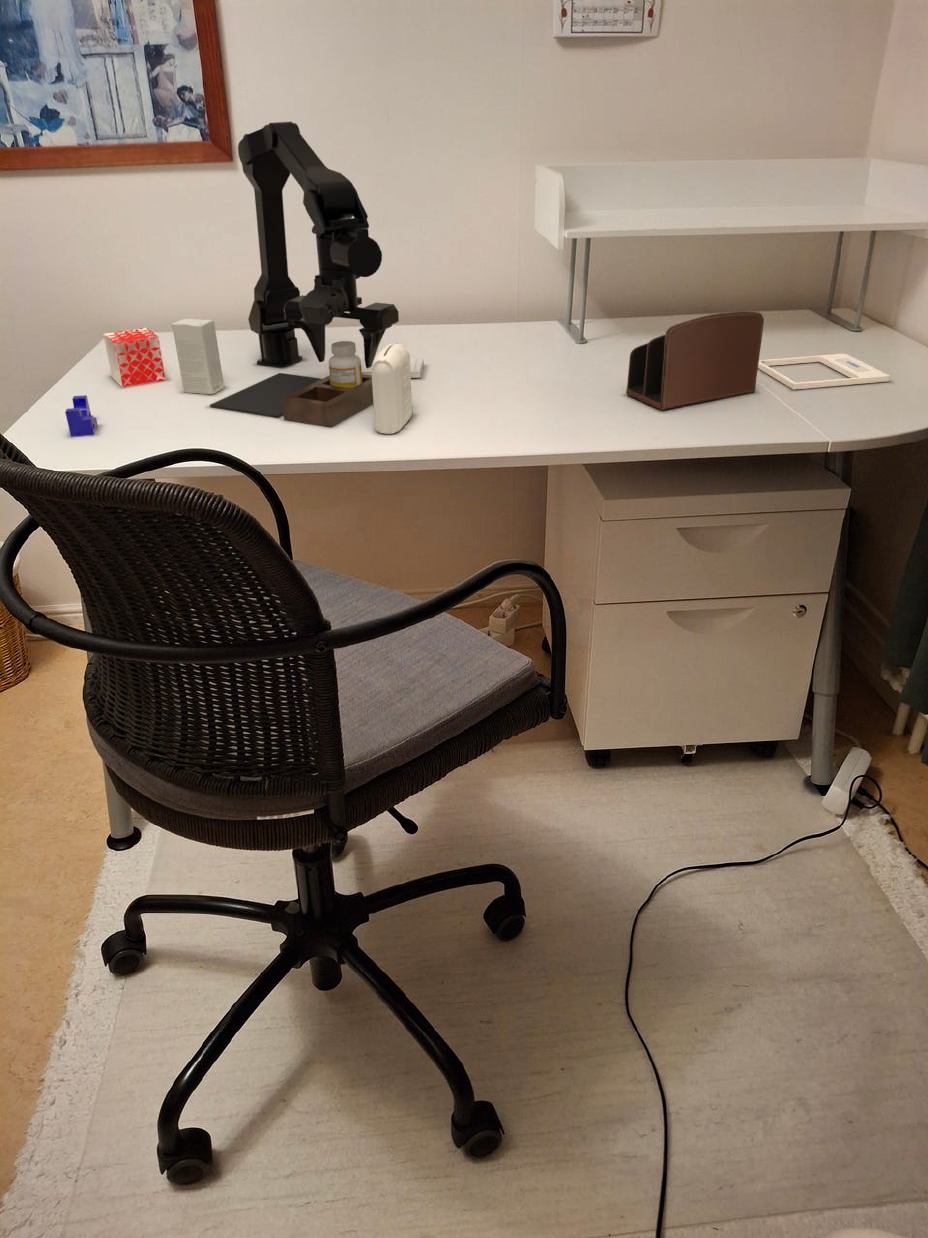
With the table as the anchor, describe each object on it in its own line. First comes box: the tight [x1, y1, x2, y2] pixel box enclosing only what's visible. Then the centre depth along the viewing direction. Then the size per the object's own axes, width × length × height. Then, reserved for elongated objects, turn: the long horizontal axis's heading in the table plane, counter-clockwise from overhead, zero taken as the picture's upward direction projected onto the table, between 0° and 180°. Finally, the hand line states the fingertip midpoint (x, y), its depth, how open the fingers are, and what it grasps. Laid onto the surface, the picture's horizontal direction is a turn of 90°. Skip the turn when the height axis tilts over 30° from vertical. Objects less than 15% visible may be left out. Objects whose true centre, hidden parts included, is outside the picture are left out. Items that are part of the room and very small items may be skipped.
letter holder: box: [625, 311, 765, 411], centre depth 160 cm, size 10×20×14 cm, turn 117°
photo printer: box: [372, 342, 413, 435], centre depth 150 cm, size 10×4×12 cm, turn 168°
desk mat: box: [209, 372, 322, 419], centre depth 167 cm, size 14×20×1 cm
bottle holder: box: [282, 374, 374, 428], centre depth 160 cm, size 9×17×4 cm, turn 154°
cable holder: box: [64, 394, 99, 437], centre depth 154 cm, size 8×4×4 cm, turn 10°
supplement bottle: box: [328, 340, 363, 388], centre depth 161 cm, size 5×5×10 cm
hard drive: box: [360, 358, 425, 379], centre depth 177 cm, size 2×8×12 cm
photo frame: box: [758, 353, 891, 390], centre depth 171 cm, size 15×1×18 cm
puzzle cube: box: [102, 327, 167, 388], centre depth 175 cm, size 8×8×8 cm
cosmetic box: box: [171, 317, 225, 395], centre depth 167 cm, size 6×4×12 cm
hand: (344, 364), depth 160 cm, fingers open, 9 cm apart
